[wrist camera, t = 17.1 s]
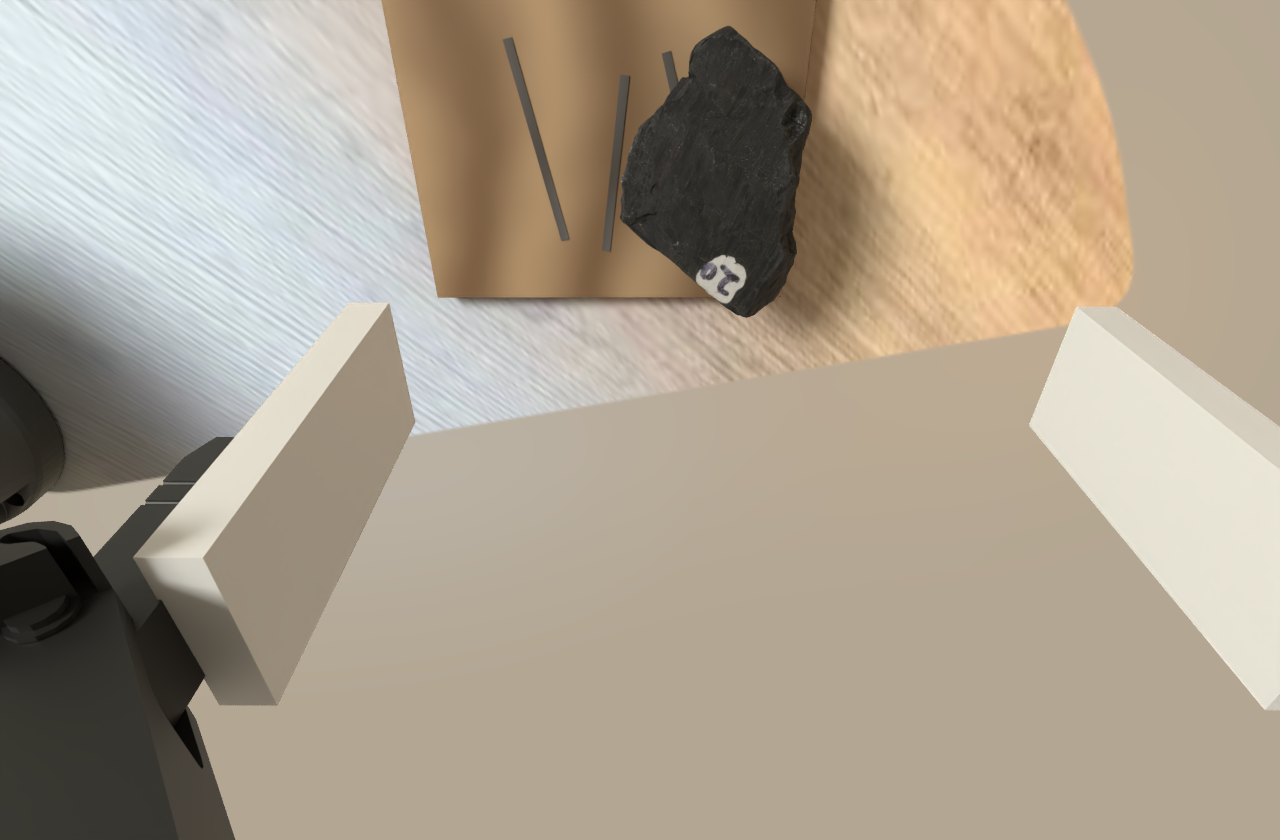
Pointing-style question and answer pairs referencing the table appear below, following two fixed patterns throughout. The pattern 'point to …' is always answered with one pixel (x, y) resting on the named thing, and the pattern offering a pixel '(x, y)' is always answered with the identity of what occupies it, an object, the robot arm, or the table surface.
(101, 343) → the table surface
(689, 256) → the rock
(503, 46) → the board
